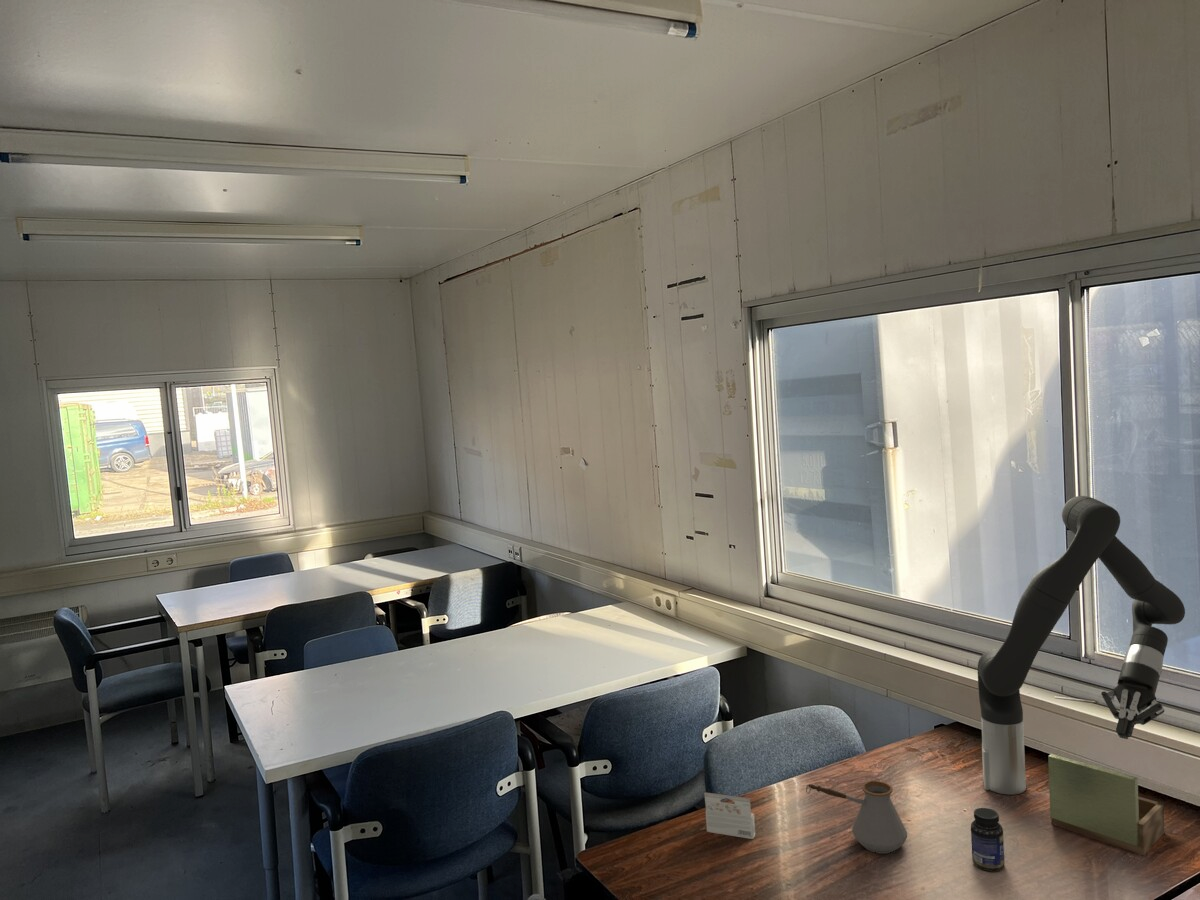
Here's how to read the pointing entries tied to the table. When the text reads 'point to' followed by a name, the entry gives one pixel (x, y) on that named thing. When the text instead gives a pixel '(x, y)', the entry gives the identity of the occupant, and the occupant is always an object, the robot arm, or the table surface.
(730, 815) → the ink cartridge box
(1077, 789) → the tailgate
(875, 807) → the coffee pot
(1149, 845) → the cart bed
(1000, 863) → the pill bottle
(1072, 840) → the table surface
